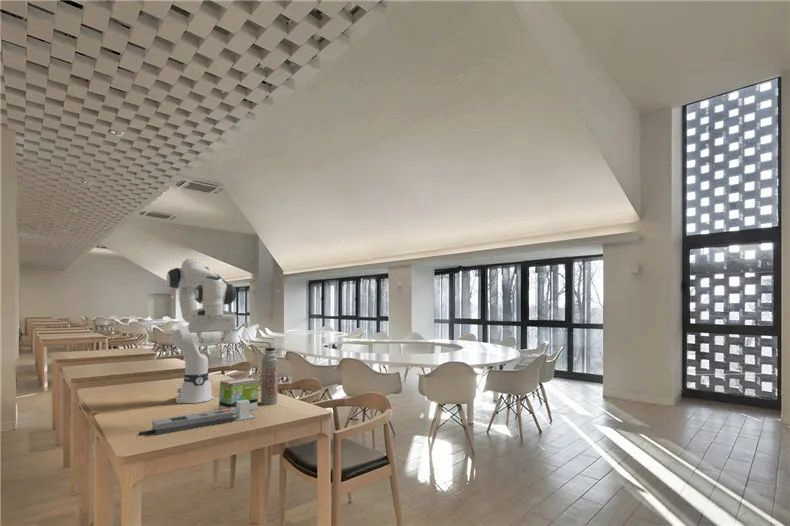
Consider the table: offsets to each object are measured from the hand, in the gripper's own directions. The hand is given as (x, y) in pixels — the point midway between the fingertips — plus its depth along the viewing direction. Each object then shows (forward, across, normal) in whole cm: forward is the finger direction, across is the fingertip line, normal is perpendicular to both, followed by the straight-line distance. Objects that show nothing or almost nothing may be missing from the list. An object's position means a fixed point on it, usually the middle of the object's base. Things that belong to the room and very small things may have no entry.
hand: (212, 342), depth 206 cm
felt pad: (+34, -12, +8) cm, 37 cm away
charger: (+34, -12, +8) cm, 37 cm away
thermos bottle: (+34, -33, -12) cm, 49 cm away
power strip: (+34, +12, +8) cm, 37 cm away
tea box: (+34, -15, -6) cm, 38 cm away
